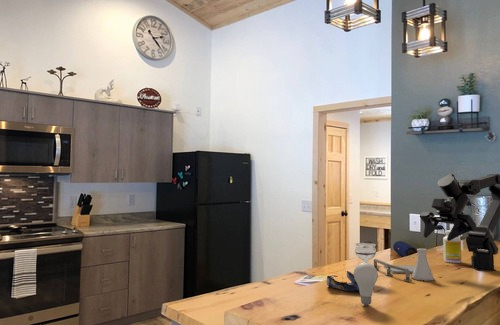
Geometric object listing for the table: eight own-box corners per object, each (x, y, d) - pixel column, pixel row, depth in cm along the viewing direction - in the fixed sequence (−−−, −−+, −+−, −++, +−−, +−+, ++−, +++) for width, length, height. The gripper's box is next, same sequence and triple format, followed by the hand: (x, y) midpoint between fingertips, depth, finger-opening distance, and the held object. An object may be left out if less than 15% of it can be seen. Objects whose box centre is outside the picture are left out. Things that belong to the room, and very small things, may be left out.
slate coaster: (413, 267, 151) (412, 265, 151) (424, 273, 140) (424, 271, 140) (384, 267, 151) (384, 265, 151) (393, 273, 140) (393, 271, 140)
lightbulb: (350, 302, 104) (350, 260, 105) (372, 302, 105) (372, 260, 105) (359, 309, 98) (358, 265, 99) (382, 308, 99) (381, 264, 99)
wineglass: (380, 281, 128) (379, 244, 129) (371, 284, 124) (370, 246, 124) (361, 277, 133) (360, 242, 134) (351, 281, 128) (351, 244, 129)
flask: (437, 282, 128) (436, 251, 128) (413, 280, 129) (412, 250, 130) (431, 277, 135) (430, 247, 136) (409, 276, 136) (408, 247, 137)
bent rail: (376, 268, 149) (376, 258, 149) (413, 281, 128) (413, 269, 128) (368, 268, 148) (367, 258, 149) (403, 282, 127) (403, 270, 127)
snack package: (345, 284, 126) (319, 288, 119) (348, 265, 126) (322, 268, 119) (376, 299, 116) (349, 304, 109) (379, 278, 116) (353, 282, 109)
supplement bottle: (464, 263, 160) (463, 231, 161) (448, 263, 160) (447, 231, 161) (456, 260, 166) (455, 230, 167) (440, 260, 167) (439, 230, 167)
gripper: (422, 190, 148) (402, 220, 142) (469, 190, 132) (449, 224, 126) (436, 210, 151) (417, 241, 145) (484, 213, 135) (465, 248, 129)
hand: (435, 238), depth 136 cm, fingers open, 9 cm apart
